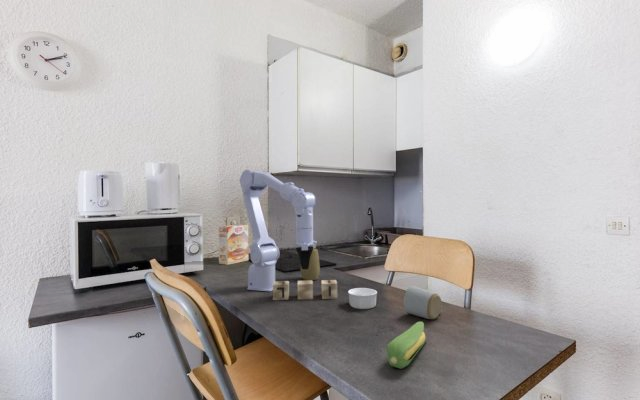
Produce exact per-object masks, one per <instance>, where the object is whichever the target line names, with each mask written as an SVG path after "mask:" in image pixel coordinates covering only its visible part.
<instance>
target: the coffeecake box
mask: <svg viewBox="0 0 640 400" xmlns="http://www.w3.org/2000/svg"><path fill="white" fill-rule="evenodd" d="M248 261H249V224H243V223H242V224H241V223H240V224H239V223H238V224H230V225H227V224H226V225H218V264H219V265H220V264H221V265H225V266H228V265H233V264H237V263H243V262H248Z"/></svg>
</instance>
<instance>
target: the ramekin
mask: <svg viewBox="0 0 640 400" xmlns="http://www.w3.org/2000/svg"><path fill="white" fill-rule="evenodd" d="M347 294H348V300H349V306H350V307H352V308H354V309H359V310H368V309H373V308H374V307H376V305H377V295H378V291H377V290H375V289H373V288H367V287H355V288H351V289H349V290H348V291H347Z"/></svg>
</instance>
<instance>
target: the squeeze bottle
mask: <svg viewBox="0 0 640 400" xmlns="http://www.w3.org/2000/svg"><path fill="white" fill-rule="evenodd" d="M309 246H312V247H313V251H312V254H311V257H310V262H309V268H308V269H302V268H301V267H300V269H299V270H300V273H301V276H302V279H303V281H309V280H312V281H316V280H318V278H319V276H320V272H321V266H320V265H321V264H320V257H319V251H318V249H317V247H316V246H317V243H316V244H312V245H309Z"/></svg>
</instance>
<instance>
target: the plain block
mask: <svg viewBox="0 0 640 400" xmlns="http://www.w3.org/2000/svg"><path fill="white" fill-rule="evenodd" d="M297 300H314V280H297Z"/></svg>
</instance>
